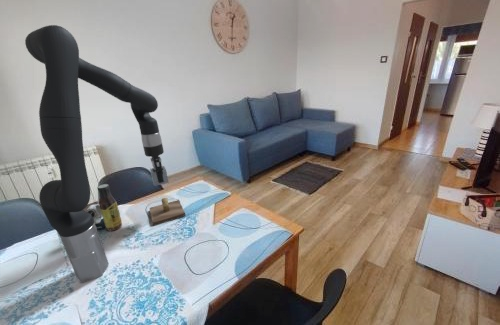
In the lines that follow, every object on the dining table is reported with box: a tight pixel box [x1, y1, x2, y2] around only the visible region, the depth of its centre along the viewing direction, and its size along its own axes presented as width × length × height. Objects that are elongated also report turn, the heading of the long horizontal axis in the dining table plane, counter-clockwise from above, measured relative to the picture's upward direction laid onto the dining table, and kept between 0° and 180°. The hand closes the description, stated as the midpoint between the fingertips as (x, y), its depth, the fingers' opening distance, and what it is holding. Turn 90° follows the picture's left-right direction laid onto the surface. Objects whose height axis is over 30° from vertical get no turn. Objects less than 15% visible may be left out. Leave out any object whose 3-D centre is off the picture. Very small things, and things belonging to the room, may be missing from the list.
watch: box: [85, 203, 107, 232], centre depth 99 cm, size 6×8×11 cm
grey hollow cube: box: [149, 165, 169, 187], centre depth 103 cm, size 6×6×6 cm
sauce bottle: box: [97, 183, 123, 232], centre depth 98 cm, size 6×6×20 cm
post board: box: [149, 197, 186, 226], centre depth 108 cm, size 14×14×8 cm
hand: (160, 179), depth 103 cm, fingers closed on grey hollow cube, 6 cm apart
